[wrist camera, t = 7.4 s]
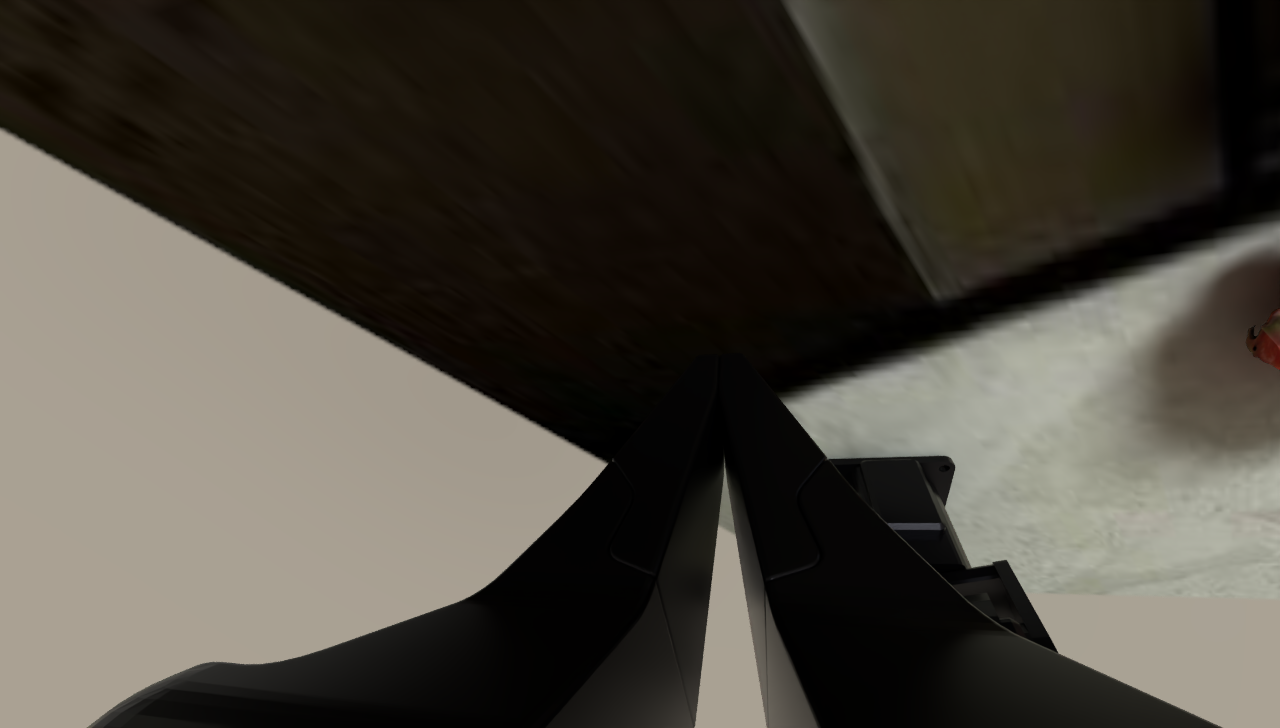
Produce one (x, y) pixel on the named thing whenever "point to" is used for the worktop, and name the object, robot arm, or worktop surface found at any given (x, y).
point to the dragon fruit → (1267, 341)
